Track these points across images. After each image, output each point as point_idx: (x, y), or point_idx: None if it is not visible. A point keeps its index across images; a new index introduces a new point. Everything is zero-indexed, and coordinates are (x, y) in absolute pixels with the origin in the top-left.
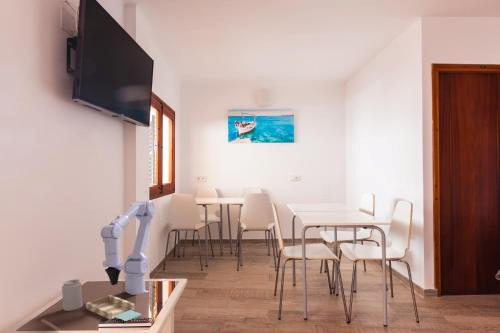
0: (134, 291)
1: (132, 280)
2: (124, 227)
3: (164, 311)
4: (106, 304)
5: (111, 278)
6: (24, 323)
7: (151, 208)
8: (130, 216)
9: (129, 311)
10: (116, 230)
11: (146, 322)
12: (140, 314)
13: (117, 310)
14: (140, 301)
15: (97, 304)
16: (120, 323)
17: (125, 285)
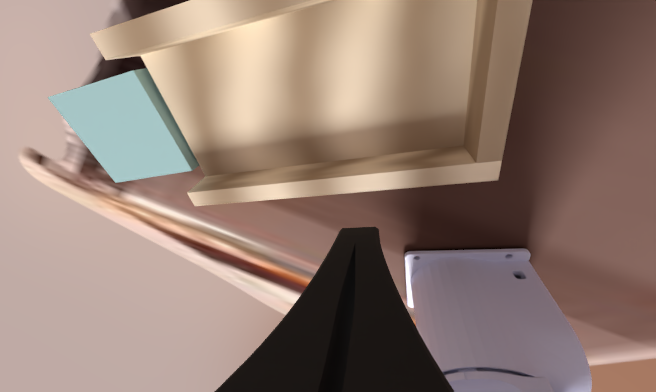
0: (428, 279)
1: (450, 342)
2: None
3: (164, 244)
4: (426, 108)
5: (312, 294)
6: None
7: None
8: None
9: (171, 158)
10: None
11: (77, 166)
12: (113, 177)
13: (255, 124)
14: (331, 244)
15: (477, 43)
16: (94, 77)
17: (545, 297)
